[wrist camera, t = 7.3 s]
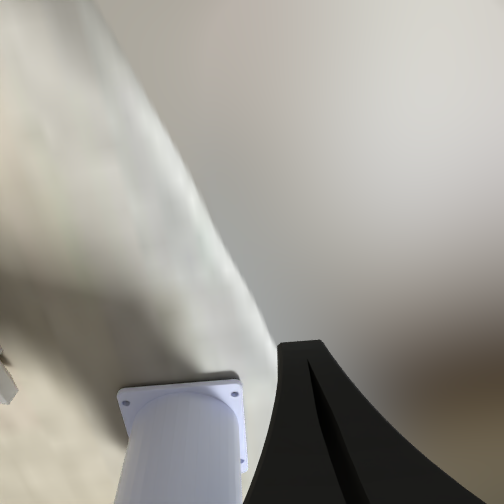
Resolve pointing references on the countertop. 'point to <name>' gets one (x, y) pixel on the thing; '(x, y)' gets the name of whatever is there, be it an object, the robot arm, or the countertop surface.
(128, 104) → the countertop surface
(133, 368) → the countertop surface
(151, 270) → the countertop surface
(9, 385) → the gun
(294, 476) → the robot arm
